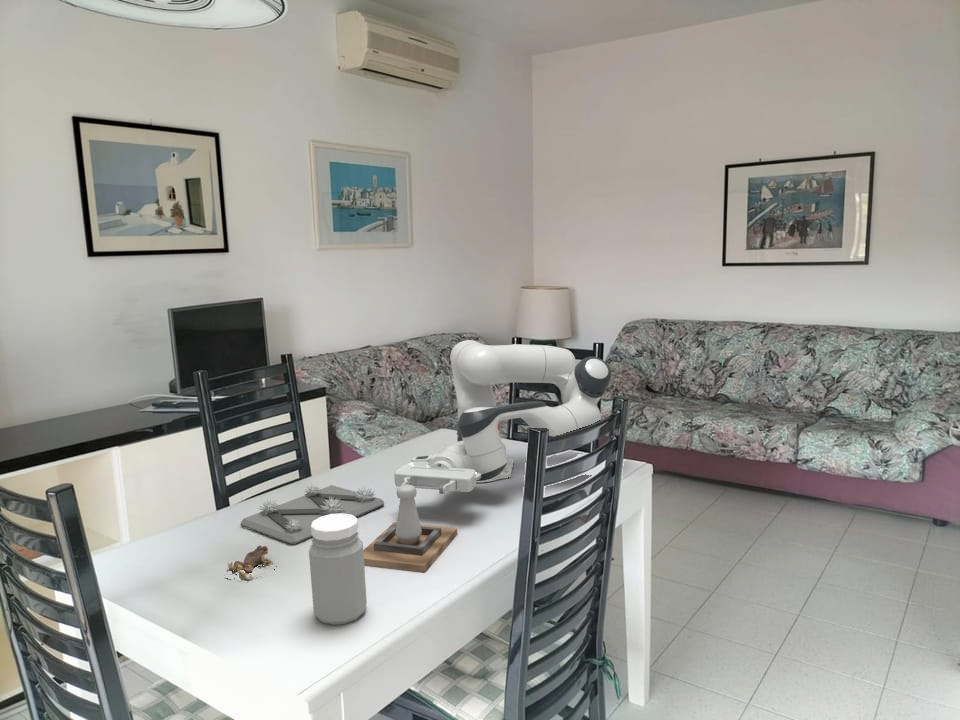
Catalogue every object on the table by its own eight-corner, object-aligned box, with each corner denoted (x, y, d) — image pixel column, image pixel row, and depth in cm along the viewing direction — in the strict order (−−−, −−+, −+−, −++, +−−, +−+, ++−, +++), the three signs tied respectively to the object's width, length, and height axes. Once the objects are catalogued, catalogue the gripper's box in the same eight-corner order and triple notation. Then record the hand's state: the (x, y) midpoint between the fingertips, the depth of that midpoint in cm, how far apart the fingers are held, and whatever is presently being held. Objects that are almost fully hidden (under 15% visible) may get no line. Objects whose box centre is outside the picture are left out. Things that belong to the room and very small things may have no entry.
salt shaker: (411, 549, 154) (408, 492, 152) (390, 544, 157) (387, 488, 155) (427, 539, 159) (424, 484, 157) (406, 535, 162) (403, 480, 160)
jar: (305, 625, 127) (297, 531, 124) (326, 598, 137) (319, 510, 134) (356, 629, 126) (350, 533, 123) (374, 601, 135) (368, 512, 132)
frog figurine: (247, 555, 159) (246, 539, 158) (290, 563, 154) (289, 546, 153) (209, 577, 148) (207, 560, 148) (253, 587, 144) (251, 569, 143)
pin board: (394, 527, 170) (394, 515, 169) (457, 534, 165) (457, 521, 164) (355, 564, 151) (354, 551, 151) (424, 572, 146) (424, 558, 146)
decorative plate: (332, 492, 198) (330, 467, 196) (387, 507, 185) (385, 481, 183) (238, 528, 174) (235, 500, 173) (293, 549, 161) (290, 519, 160)
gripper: (484, 485, 176) (465, 505, 163) (409, 480, 182) (385, 498, 170) (483, 461, 175) (464, 479, 162) (407, 456, 181) (383, 473, 169)
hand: (423, 489), depth 166 cm, fingers open, 8 cm apart
